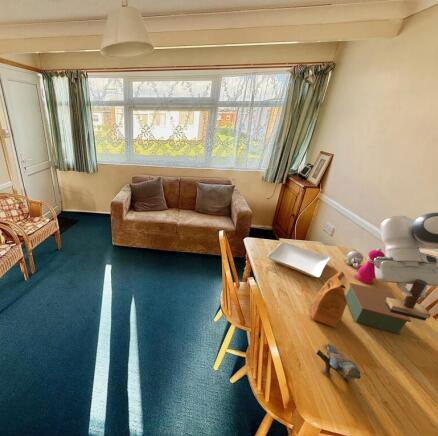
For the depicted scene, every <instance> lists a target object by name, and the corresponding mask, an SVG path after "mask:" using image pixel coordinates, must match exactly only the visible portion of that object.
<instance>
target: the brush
mask: <svg viewBox="0 0 438 436" xmlns="http://www.w3.org/2000/svg"><path fill="white" fill-rule="evenodd" d="M427 284H428V283H427V282H425V281H423V280H420V279H416V280H415V282H414V284H411V286H410V287H411V288H410V289H409V291H411V292H412V297H408V296H405V298H404V299H403V300H401V299H398V298H396V299H392V298H388V297H387V298H386V300H385V301H386V304H385V305H386V307H387V308H388V310H389V311H390V312H392V313H396V314H400V315H404V316H407V317H409V318H410V319H411V318H412V319H416V320H420V321H424V322H426V321H427V319H430V318H431V316H432V315H431V313H430V312H429V311H428V310H427V308H426V307H425V306H424V305H423V304H418V301H419V299H421V298H420V296H421V294H422V293H423V291H424V289H425V288H426V286H427V287H428V285H427Z"/></svg>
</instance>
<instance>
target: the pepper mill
mask: <svg viewBox="0 0 438 436" xmlns="http://www.w3.org/2000/svg"><path fill="white" fill-rule="evenodd" d="M367 256H368V257H367V259H366V260H367V261H366V263H365V264H364V265H362V266H361V267H359V268H358V271H357V272H358V273H357V275H356V279H357V280H358V281H360V282H361V283H363V284H364V283H365V284H372V283H373V281H374V280H375V279H376V276H375V264H374V260H375V258H377V257H386V254H385V253H384V252H383V250H382V248H381V247H378V248H376V249H372V250H370V251H369V252H368V253H367Z"/></svg>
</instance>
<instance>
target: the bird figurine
mask: <svg viewBox="0 0 438 436" xmlns="http://www.w3.org/2000/svg"><path fill="white" fill-rule="evenodd" d="M326 348H327V352H326V354H324V353H323V351H322V350H320V349H317V350H316V352H315V353H316V355H317V356H318V357H319V358H320V359H321V360H322V361H323V363H325V369H324V374H325V375H328V376H330V377H331V376H332V374H331V369H332V370H334V371H335V372H336V373H337V374H338V375H340V376H341V378H344V379H346V380H355V379H357V380H360V379H361V378H362V377H361V371H360V370H359V368H358V366H357V365H356V364H355V363H354V361H353V360H352V359H350V357H348V356H346V355H344V354H342V353H340V351H338V349H337V347H335V346H333V345H332V344H331V343H327V347H326Z"/></svg>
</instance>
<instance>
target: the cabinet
mask: <svg viewBox="0 0 438 436" xmlns="http://www.w3.org/2000/svg"><path fill="white" fill-rule="evenodd" d="M348 285H349V288H348V290H347V292H346V294H345V297H346V300H347V304H348V307H349V309H350V312H351V314H352V316H353V319H354V321H355V322H356V323H357V324H358V323H359V324H362V325H367V326H370V327H373V328H377V329H380V330H384V331H387V332H391V333H393V334H394V333H395V334H400V333H401V331H402V329H403V328H404V327H405V325H406V323H407V322H408V323H411V322H412V320H411V317H407V316H404V315H400V314H396V313H392V312H390V311H389V310H388V308H387V307H386V305H385V304H386V301H385V300H386V298H387V297H388V298H392V299H397V298H396V297H395V295H394V294H393V292H391V291H387V290H384V289H379V288H375V287H370V286H365V285H361V284H357V283H352V282H349V283H348Z"/></svg>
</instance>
